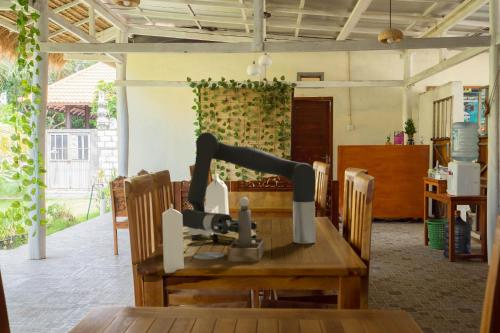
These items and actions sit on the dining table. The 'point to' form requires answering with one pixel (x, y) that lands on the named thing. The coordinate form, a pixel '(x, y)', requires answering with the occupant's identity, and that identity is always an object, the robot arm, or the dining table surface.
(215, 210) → the storage container
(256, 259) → the caddy
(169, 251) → the milk
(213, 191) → the milk
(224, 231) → the robot arm
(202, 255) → the disc
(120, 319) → the dining table surface
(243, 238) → the pepper mill
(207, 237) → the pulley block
